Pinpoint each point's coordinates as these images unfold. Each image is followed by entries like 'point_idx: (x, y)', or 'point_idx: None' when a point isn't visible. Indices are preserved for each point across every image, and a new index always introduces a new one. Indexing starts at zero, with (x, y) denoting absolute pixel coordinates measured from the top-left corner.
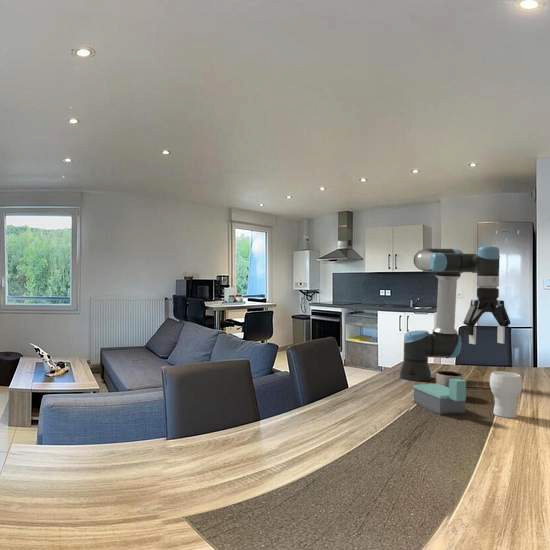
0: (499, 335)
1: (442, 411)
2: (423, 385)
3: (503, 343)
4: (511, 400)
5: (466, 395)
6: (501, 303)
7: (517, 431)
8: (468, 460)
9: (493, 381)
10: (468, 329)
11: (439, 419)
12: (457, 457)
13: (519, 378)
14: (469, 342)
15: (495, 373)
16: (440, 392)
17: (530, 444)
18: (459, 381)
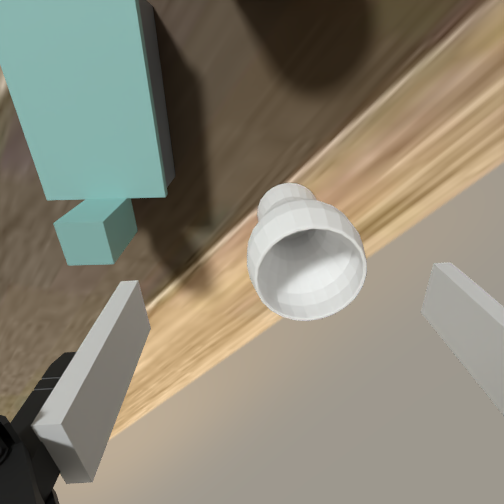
0: (470, 327)
1: None
2: (30, 9)
3: (428, 312)
4: (286, 262)
5: (166, 195)
6: None
7: (215, 312)
8: (32, 389)
9: (247, 260)
10: (26, 409)
11: (64, 212)
12: (17, 380)
13: (322, 314)
14: (119, 291)
15: (307, 224)
16: (69, 155)
17: (186, 361)
18: (81, 264)
